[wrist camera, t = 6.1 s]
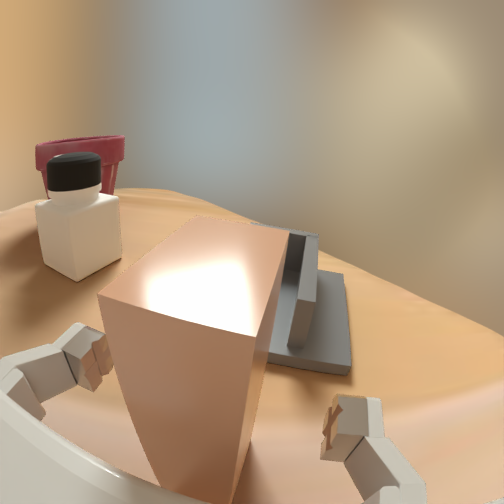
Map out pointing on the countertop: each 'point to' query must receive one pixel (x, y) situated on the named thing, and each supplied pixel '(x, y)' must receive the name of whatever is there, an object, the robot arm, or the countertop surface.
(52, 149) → the plant pot
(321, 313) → the rack
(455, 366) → the countertop surface
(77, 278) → the medicine bottle
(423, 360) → the countertop surface
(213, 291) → the tall tan pillar block
